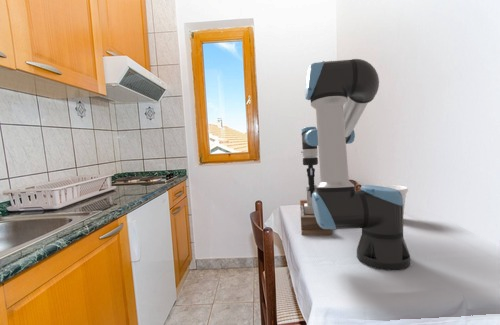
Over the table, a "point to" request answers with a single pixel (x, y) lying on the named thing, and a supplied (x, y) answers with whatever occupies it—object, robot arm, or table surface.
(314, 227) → the track
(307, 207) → the block
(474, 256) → the table surface
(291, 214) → the table surface
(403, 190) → the cup
